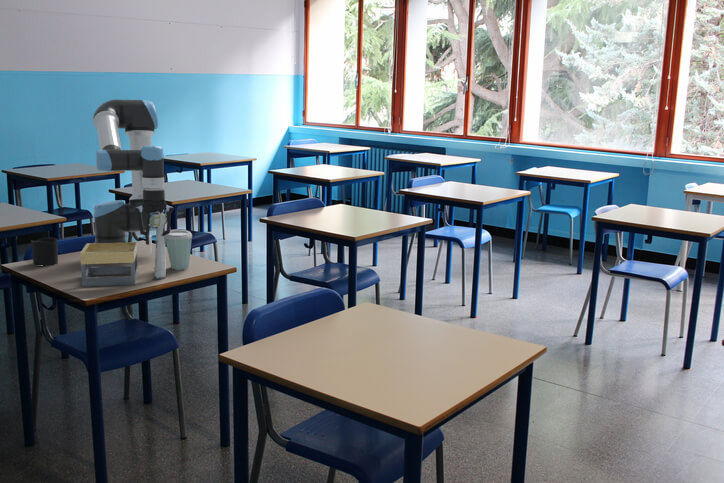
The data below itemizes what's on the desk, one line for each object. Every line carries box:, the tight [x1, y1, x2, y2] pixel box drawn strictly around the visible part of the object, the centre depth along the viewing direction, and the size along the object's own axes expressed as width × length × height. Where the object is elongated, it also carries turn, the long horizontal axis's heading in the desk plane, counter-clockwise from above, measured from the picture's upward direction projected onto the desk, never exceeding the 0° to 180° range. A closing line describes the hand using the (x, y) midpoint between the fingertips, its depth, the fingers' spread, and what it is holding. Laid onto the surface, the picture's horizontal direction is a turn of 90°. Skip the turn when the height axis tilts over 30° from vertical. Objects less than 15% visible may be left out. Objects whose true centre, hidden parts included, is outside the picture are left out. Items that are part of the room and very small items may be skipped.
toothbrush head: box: [149, 211, 168, 280], centre depth 244 cm, size 5×7×25 cm
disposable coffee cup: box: [165, 229, 193, 271], centre depth 260 cm, size 11×11×15 cm
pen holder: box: [30, 237, 59, 267], centre depth 263 cm, size 9×9×10 cm
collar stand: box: [79, 241, 139, 288], centre depth 242 cm, size 18×18×12 cm
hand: (155, 253), depth 244 cm, fingers open, 3 cm apart
